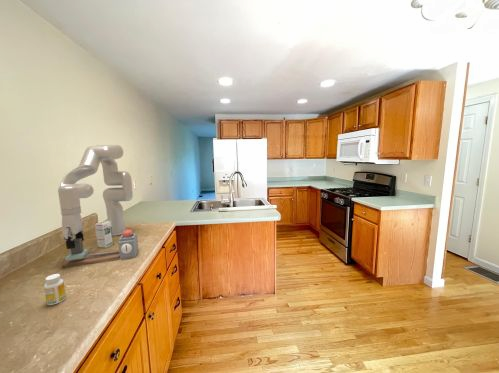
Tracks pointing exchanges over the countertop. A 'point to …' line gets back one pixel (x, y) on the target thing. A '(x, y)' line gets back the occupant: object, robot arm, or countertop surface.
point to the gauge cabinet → (128, 246)
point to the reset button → (127, 233)
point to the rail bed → (93, 258)
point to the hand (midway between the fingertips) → (75, 244)
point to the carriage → (77, 250)
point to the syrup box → (104, 234)
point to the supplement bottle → (54, 289)
